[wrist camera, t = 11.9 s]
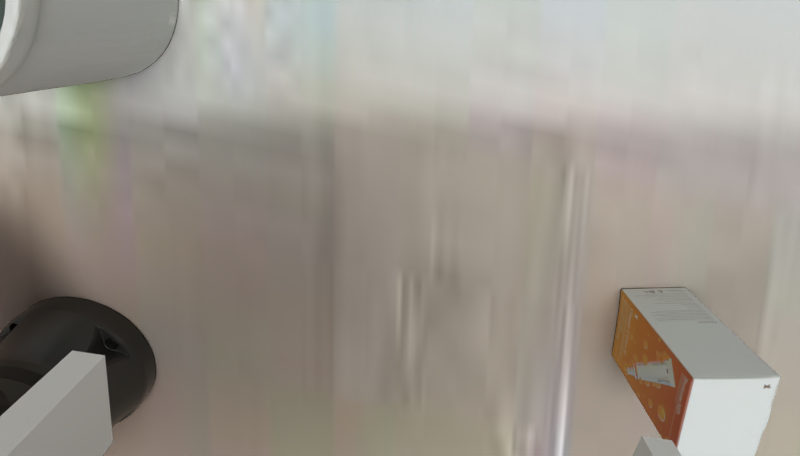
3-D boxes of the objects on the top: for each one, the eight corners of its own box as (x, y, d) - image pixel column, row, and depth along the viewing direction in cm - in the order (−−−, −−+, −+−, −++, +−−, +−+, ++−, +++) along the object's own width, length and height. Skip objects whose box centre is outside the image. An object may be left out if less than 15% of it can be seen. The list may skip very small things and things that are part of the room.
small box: (619, 287, 45) (693, 377, 33) (686, 285, 45) (785, 376, 33) (609, 355, 48) (673, 461, 36) (671, 354, 48) (757, 460, 36)
